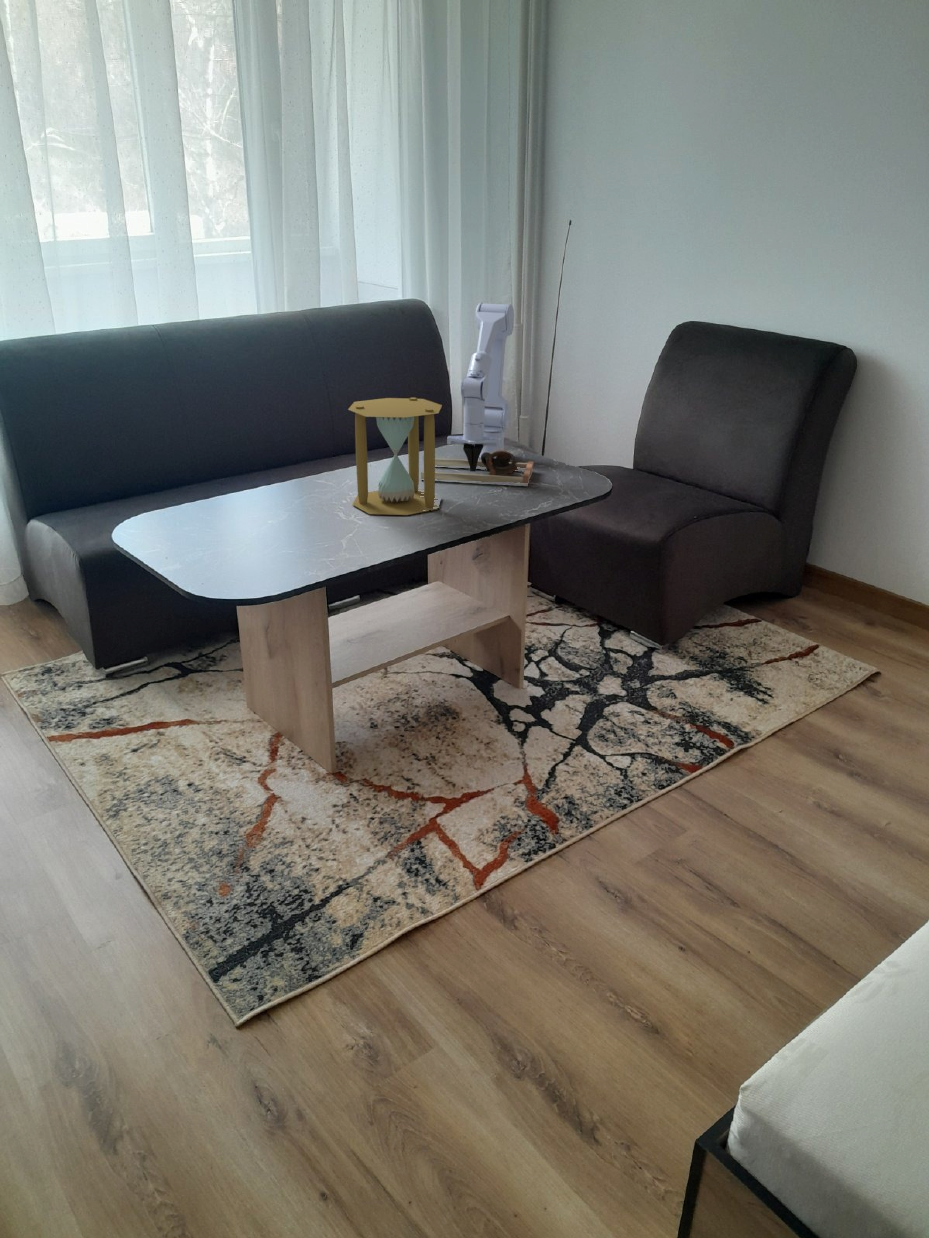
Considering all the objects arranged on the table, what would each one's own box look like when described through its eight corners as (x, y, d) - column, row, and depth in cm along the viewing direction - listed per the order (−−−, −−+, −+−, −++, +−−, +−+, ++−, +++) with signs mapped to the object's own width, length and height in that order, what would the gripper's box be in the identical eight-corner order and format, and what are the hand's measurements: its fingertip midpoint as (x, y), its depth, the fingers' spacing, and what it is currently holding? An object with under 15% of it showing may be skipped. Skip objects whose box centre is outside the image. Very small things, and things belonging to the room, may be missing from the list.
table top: (431, 466, 271) (431, 456, 270) (533, 472, 267) (533, 461, 266) (420, 481, 258) (420, 470, 256) (527, 487, 254) (528, 476, 252)
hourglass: (432, 487, 253) (432, 393, 242) (453, 513, 233) (453, 412, 223) (345, 493, 247) (341, 397, 237) (358, 520, 227) (355, 417, 217)
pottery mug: (523, 475, 266) (524, 455, 259) (505, 496, 261) (505, 476, 255) (488, 459, 270) (488, 438, 263) (469, 479, 265) (469, 458, 259)
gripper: (445, 424, 254) (445, 473, 259) (498, 426, 252) (497, 476, 257) (449, 418, 260) (449, 466, 266) (501, 420, 258) (500, 469, 264)
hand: (473, 470), depth 262 cm, fingers closed
